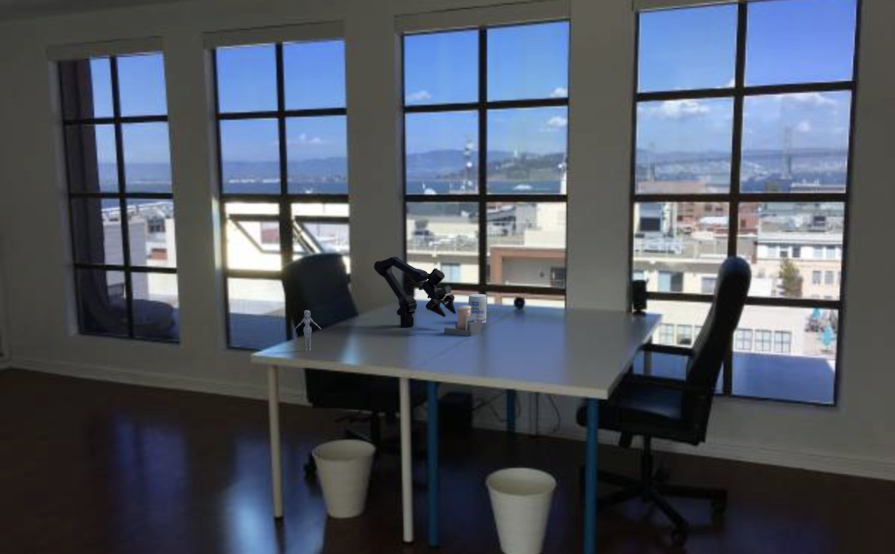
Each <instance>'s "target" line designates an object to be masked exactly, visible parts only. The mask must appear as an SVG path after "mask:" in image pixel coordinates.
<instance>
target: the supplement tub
mask: <svg viewBox="0 0 895 554" xmlns="http://www.w3.org/2000/svg"><path fill="white" fill-rule="evenodd" d="M487 302H488V301H487V295H486V294H482V293H473V294H468V302H467V303H468V306H471V314H474V313H476V321H479V320H482V324H485V323H487Z"/></svg>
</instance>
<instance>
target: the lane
mask: <svg viewBox="0 0 895 554" xmlns="http://www.w3.org/2000/svg"><path fill="white" fill-rule="evenodd" d="M454 327H455V328H453V327H444V328H443V329H444V330H443V331H444V334H450V335H456V336H464V337H465V336H466V337H474V336H476V335H478V334H482V333H483V323H482V320H479V321H475V322H472V323H469V330H462V329H458V323H455V326H454Z"/></svg>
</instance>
